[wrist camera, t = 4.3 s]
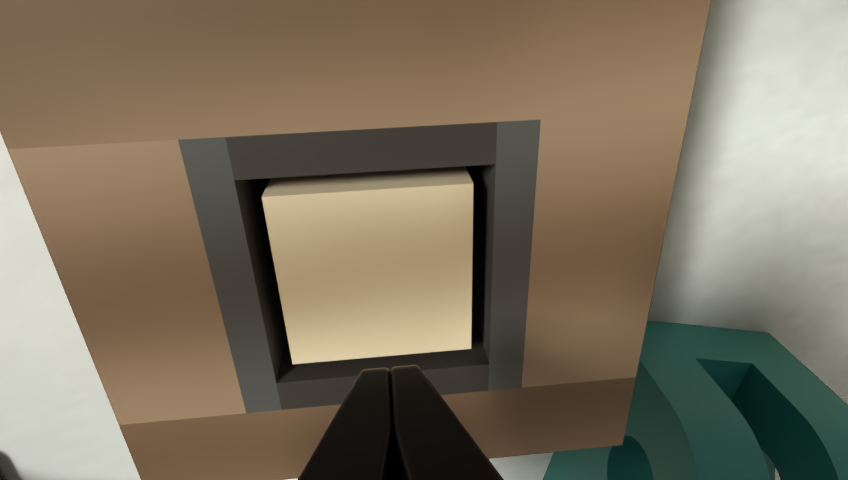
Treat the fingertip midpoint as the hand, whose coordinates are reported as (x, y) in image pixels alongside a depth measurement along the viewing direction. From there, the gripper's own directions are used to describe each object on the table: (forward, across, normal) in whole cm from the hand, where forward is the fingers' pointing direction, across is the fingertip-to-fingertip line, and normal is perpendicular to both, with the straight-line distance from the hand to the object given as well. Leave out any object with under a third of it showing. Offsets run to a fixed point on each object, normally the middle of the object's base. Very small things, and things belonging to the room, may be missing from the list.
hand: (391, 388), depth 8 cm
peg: (+9, 0, 0) cm, 9 cm away
